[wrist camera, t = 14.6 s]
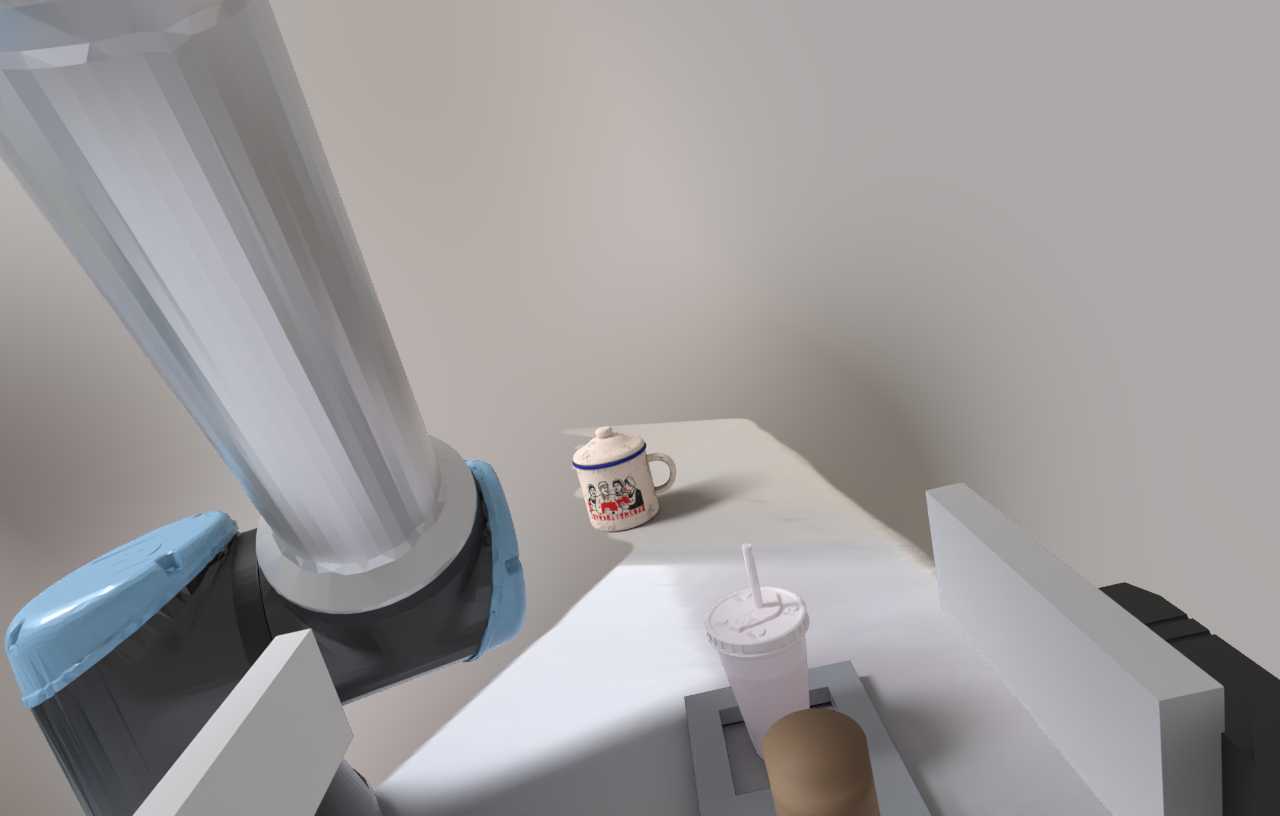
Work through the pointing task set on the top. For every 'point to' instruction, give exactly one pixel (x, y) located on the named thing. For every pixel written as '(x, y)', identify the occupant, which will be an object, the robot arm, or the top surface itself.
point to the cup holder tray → (806, 756)
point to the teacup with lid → (619, 480)
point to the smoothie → (762, 651)
